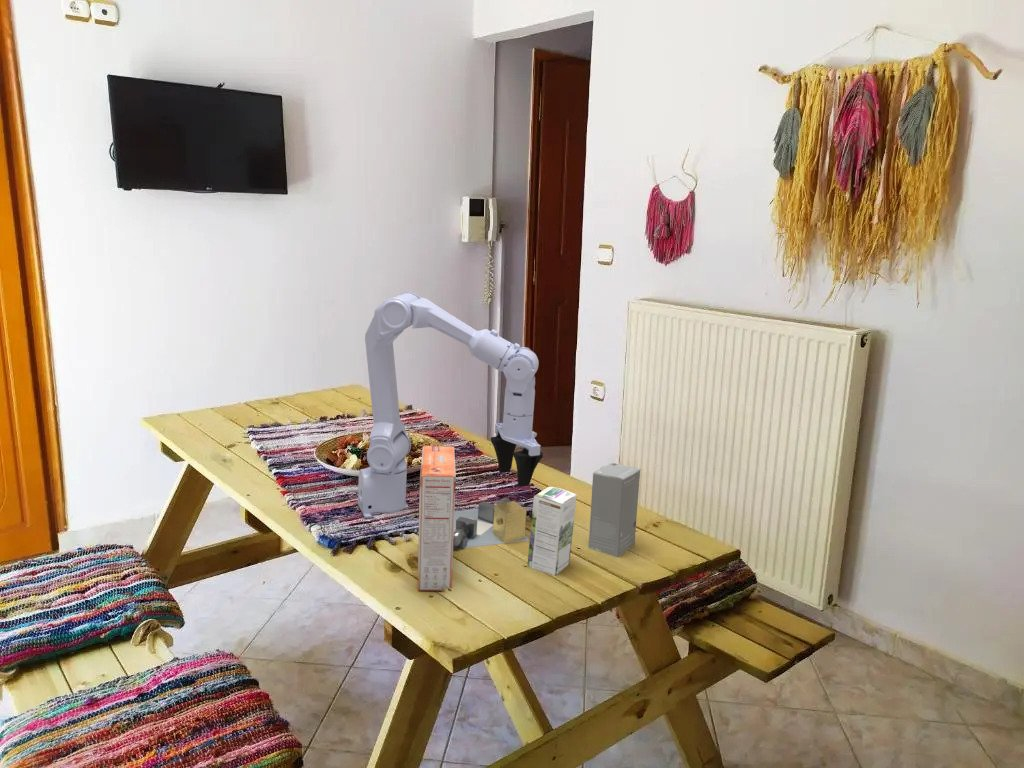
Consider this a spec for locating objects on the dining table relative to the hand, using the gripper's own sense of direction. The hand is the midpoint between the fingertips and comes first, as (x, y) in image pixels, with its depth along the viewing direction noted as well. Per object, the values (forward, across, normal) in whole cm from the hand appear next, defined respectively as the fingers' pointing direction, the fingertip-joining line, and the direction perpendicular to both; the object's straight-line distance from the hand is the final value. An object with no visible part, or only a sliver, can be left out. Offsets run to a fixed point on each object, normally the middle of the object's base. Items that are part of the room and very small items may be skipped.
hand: (514, 478), depth 156 cm
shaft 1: (+9, -4, +13) cm, 17 cm away
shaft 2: (+9, +4, +1) cm, 10 cm away
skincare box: (+10, -16, -13) cm, 23 cm away
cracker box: (+10, -12, +22) cm, 27 cm away
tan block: (+9, -6, +4) cm, 11 cm away
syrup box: (+10, -18, +2) cm, 21 cm away
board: (+10, 0, +7) cm, 12 cm away
